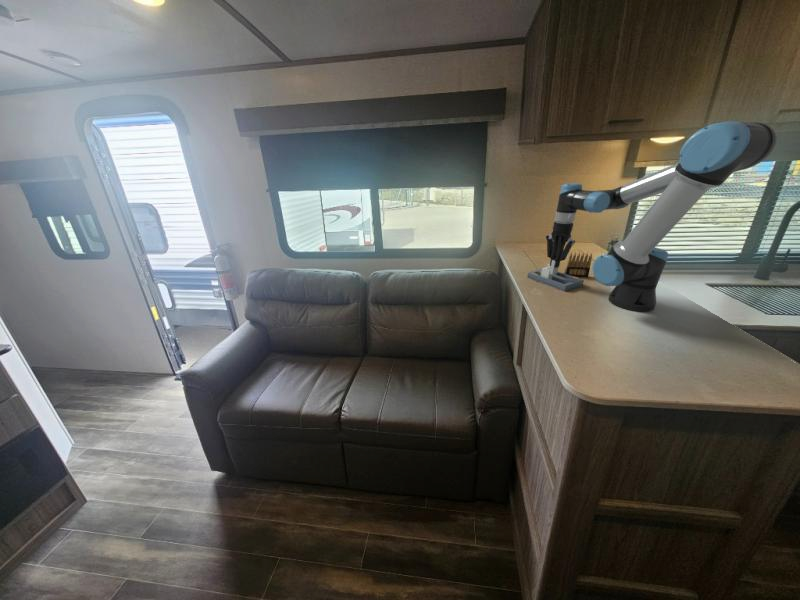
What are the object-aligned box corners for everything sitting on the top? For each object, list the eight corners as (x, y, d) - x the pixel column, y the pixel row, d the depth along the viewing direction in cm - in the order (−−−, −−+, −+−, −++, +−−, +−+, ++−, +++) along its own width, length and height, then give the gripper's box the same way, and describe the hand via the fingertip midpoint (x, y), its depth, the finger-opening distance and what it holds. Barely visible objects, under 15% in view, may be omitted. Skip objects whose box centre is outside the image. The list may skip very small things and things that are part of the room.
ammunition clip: (564, 276, 149) (569, 253, 144) (563, 275, 151) (568, 251, 146) (588, 277, 147) (594, 253, 142) (586, 276, 149) (593, 252, 144)
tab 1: (551, 279, 142) (554, 268, 139) (547, 280, 140) (549, 269, 138) (544, 276, 145) (546, 265, 143) (540, 277, 144) (542, 266, 141)
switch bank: (582, 285, 138) (584, 279, 137) (564, 291, 132) (565, 285, 131) (545, 272, 154) (546, 267, 153) (527, 277, 148) (528, 271, 147)
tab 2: (556, 274, 147) (559, 264, 144) (552, 276, 145) (555, 265, 143) (549, 272, 150) (551, 261, 148) (545, 273, 149) (547, 262, 146)
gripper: (583, 223, 125) (570, 276, 135) (556, 218, 136) (545, 268, 146) (572, 225, 122) (560, 279, 132) (544, 220, 132) (535, 270, 143)
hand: (552, 273), depth 139 cm, fingers closed
